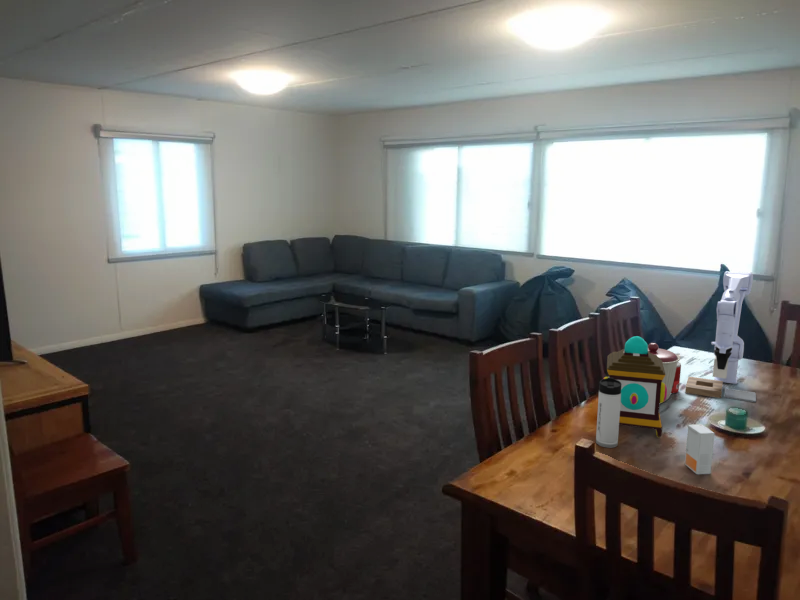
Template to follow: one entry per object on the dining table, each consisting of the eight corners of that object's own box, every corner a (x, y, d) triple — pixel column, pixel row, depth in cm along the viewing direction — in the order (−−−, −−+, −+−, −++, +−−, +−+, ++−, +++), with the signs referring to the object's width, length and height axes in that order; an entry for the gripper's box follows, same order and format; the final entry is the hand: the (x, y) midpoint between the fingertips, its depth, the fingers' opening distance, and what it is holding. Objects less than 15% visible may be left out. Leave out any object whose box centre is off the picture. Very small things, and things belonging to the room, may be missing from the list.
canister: (669, 411, 201) (674, 352, 198) (616, 400, 212) (620, 344, 208) (681, 396, 216) (686, 341, 212) (631, 387, 226) (634, 334, 222)
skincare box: (683, 464, 162) (687, 424, 160) (698, 463, 163) (702, 423, 160) (696, 475, 156) (700, 433, 154) (711, 474, 157) (715, 432, 154)
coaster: (725, 389, 222) (725, 388, 222) (755, 394, 217) (755, 392, 217) (724, 397, 214) (724, 396, 214) (755, 402, 209) (756, 400, 209)
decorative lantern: (597, 432, 185) (603, 341, 179) (599, 410, 203) (604, 327, 197) (666, 440, 178) (674, 346, 172) (661, 417, 196) (668, 331, 190)
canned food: (674, 387, 226) (676, 359, 224) (682, 394, 218) (684, 366, 216) (654, 386, 227) (656, 359, 225) (661, 393, 219) (663, 365, 217)
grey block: (713, 373, 222) (715, 355, 220) (726, 375, 219) (728, 357, 218) (712, 376, 218) (714, 358, 216) (726, 378, 216) (728, 360, 214)
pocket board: (688, 382, 231) (688, 376, 231) (722, 387, 225) (722, 381, 225) (685, 392, 219) (685, 386, 219) (721, 398, 214) (721, 391, 213)
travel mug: (617, 440, 178) (621, 378, 174) (617, 449, 172) (622, 385, 168) (595, 437, 180) (599, 376, 176) (595, 446, 174) (599, 383, 170)
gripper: (713, 327, 223) (710, 360, 226) (711, 335, 211) (708, 370, 214) (734, 329, 220) (731, 363, 222) (733, 337, 208) (730, 373, 210)
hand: (721, 367), depth 218 cm, fingers closed on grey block, 4 cm apart
